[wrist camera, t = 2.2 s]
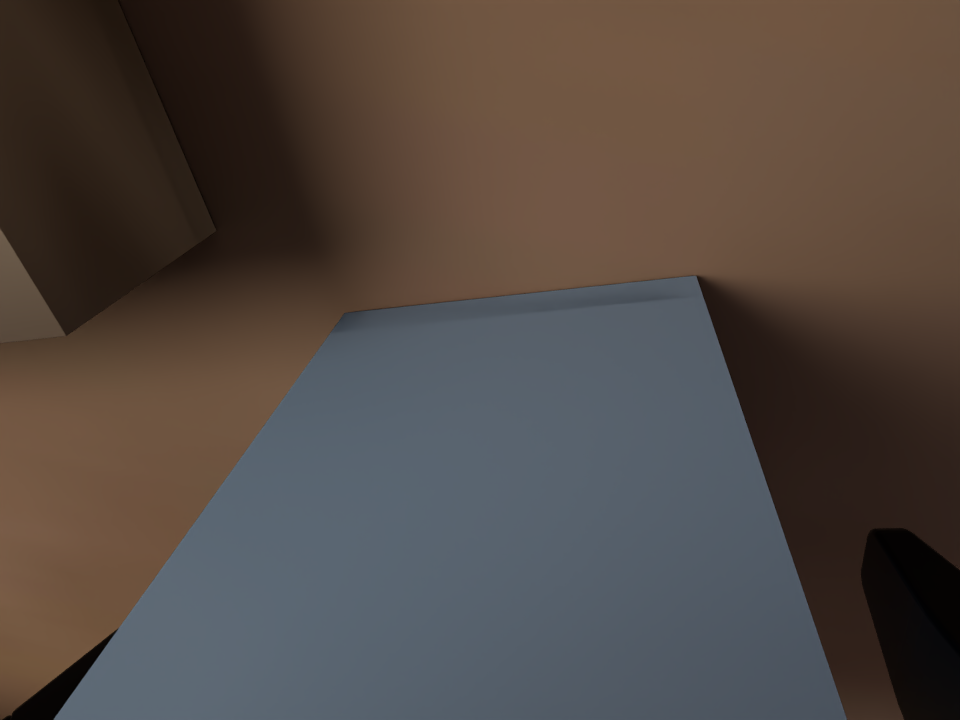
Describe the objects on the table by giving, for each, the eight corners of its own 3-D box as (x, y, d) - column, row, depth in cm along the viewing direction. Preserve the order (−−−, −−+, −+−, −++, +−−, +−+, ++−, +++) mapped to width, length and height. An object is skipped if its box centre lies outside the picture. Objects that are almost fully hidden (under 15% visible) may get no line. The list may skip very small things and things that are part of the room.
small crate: (700, 614, 12) (782, 1106, 7) (446, 611, 13) (351, 1028, 8) (695, 275, 8) (868, 782, 3) (344, 313, 9) (49, 725, 4)
